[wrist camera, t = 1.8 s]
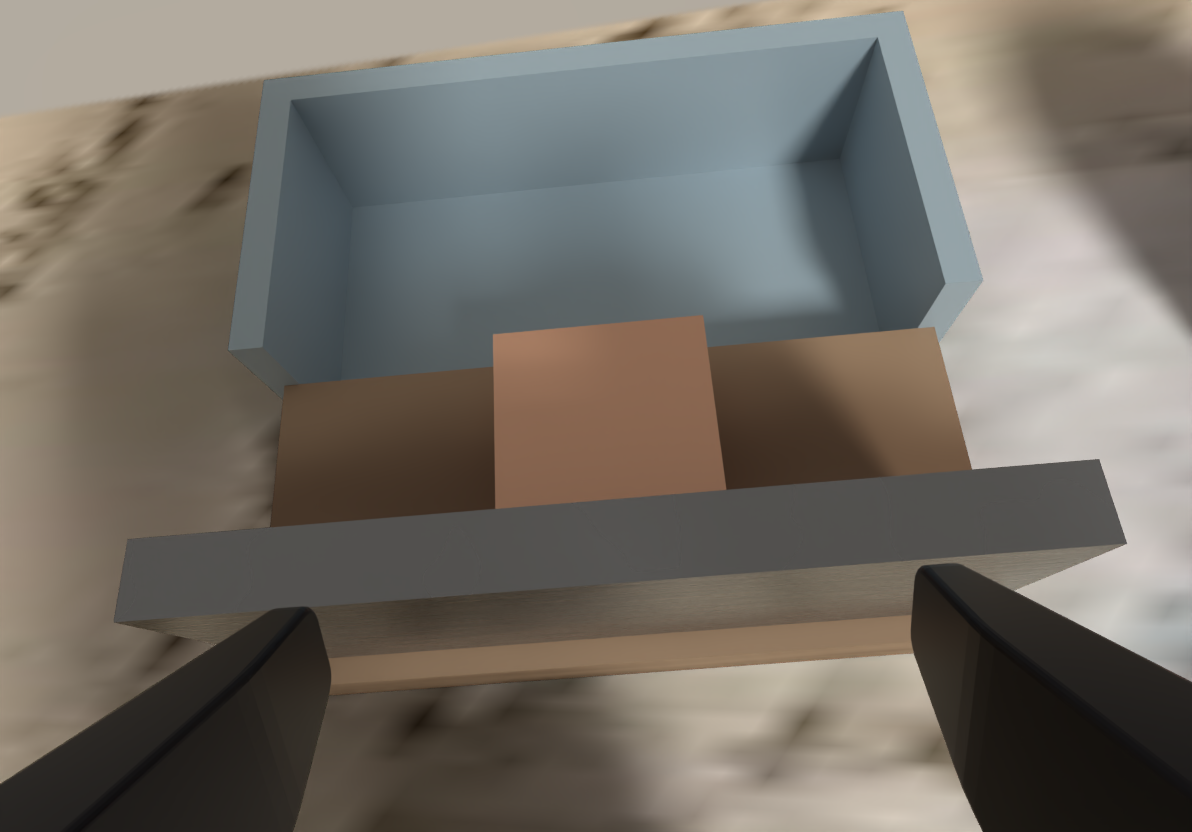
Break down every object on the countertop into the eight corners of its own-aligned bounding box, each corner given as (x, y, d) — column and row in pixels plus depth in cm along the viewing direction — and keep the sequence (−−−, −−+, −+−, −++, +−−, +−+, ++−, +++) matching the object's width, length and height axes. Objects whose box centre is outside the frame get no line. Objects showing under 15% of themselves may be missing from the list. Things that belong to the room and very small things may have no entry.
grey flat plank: (965, 611, 16) (1127, 543, 10) (295, 661, 17) (113, 622, 11) (950, 552, 16) (1099, 458, 11) (300, 603, 17) (127, 539, 12)
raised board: (962, 649, 19) (1015, 633, 16) (311, 696, 19) (253, 690, 17) (898, 379, 22) (934, 326, 19) (330, 429, 22) (284, 385, 19)
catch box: (913, 378, 22) (982, 280, 17) (316, 430, 22) (227, 350, 18) (857, 146, 25) (902, 10, 20) (335, 199, 25) (263, 80, 21)
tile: (721, 550, 17) (730, 521, 15) (517, 566, 17) (496, 540, 15) (697, 366, 19) (703, 314, 17) (513, 383, 19) (492, 334, 17)
